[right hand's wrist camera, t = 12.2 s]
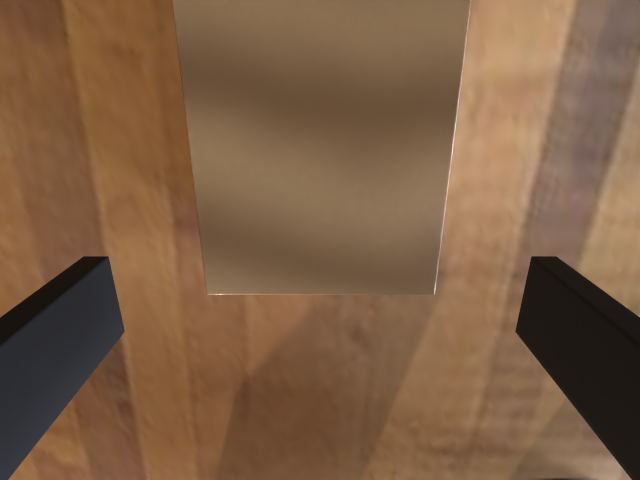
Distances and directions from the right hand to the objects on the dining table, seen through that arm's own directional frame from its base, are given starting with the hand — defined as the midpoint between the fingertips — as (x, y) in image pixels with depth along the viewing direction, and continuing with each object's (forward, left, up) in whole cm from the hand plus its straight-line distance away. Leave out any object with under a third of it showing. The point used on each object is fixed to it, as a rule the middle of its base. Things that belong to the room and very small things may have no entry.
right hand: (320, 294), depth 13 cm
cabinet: (+2, -6, -15) cm, 16 cm away
